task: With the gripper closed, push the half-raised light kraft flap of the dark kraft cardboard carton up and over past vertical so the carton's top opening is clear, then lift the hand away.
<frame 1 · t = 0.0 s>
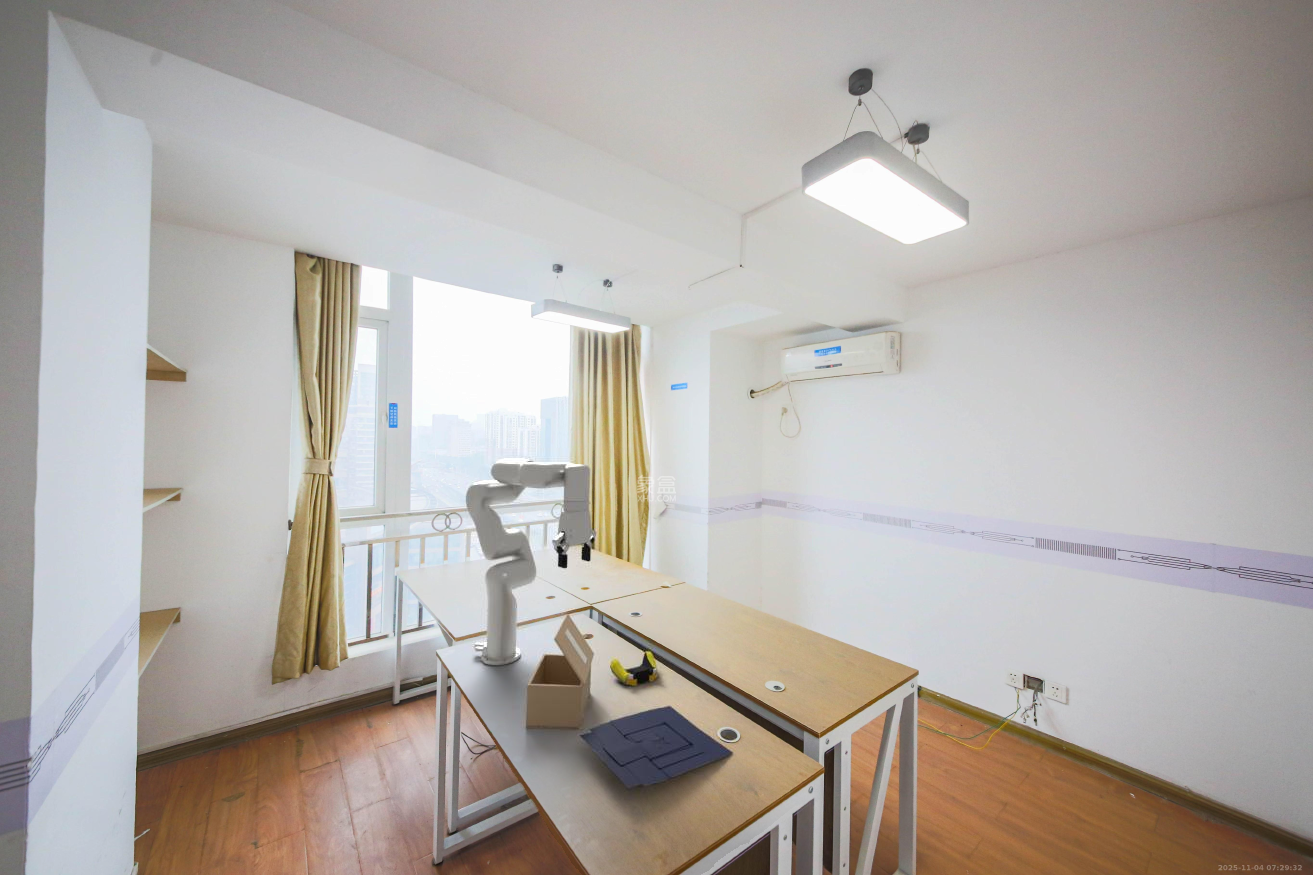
hand: (574, 563, 137), 37 cm above the table, fingers open, 9 cm apart
gaming controller: (636, 678, 146), on the table
flap: (575, 646, 127), point 17 cm above the table, hinge at 55.0°
carton: (560, 709, 127), on the table
folded navy cloth: (654, 752, 112), on the table
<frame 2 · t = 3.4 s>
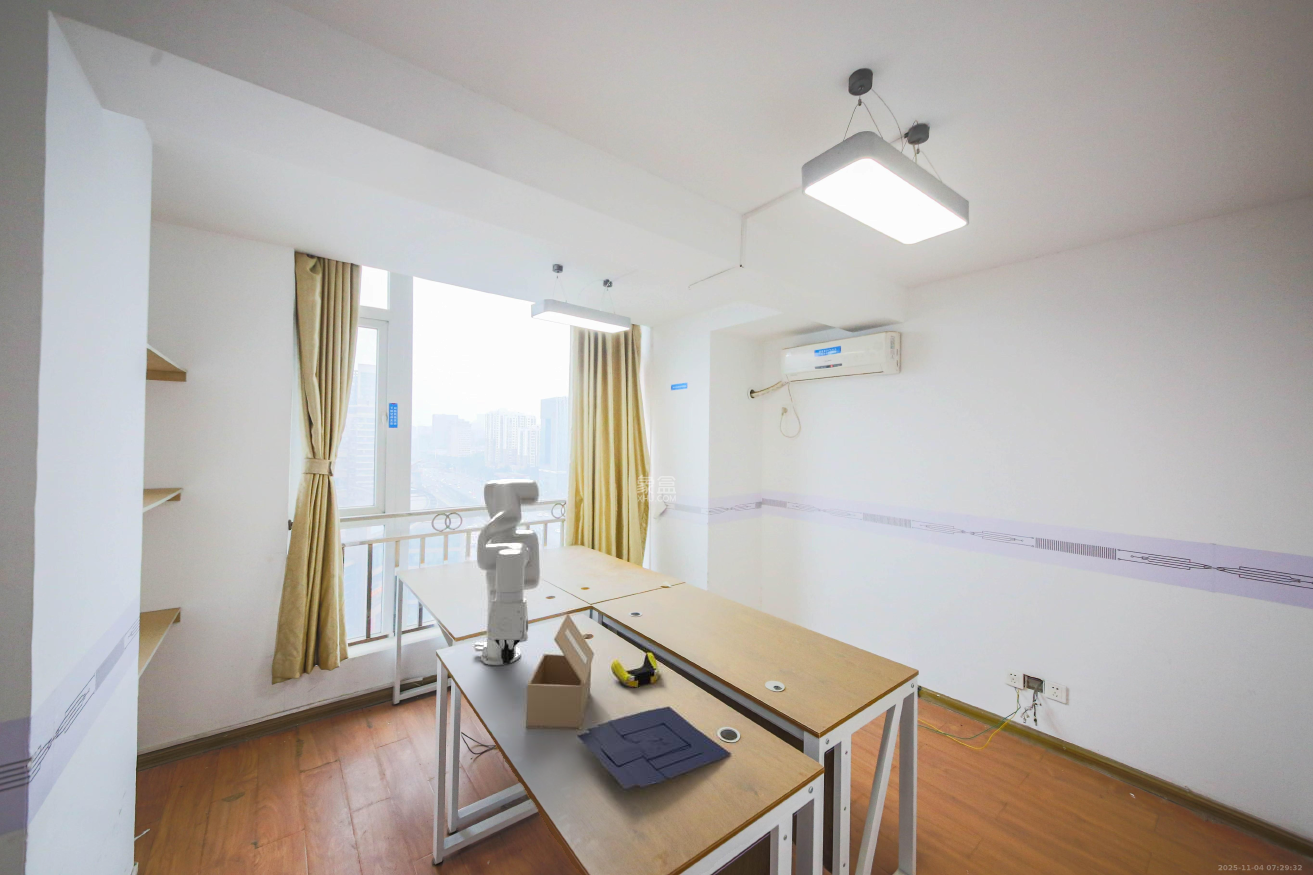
hand: (507, 661, 127), 13 cm above the table, fingers closed
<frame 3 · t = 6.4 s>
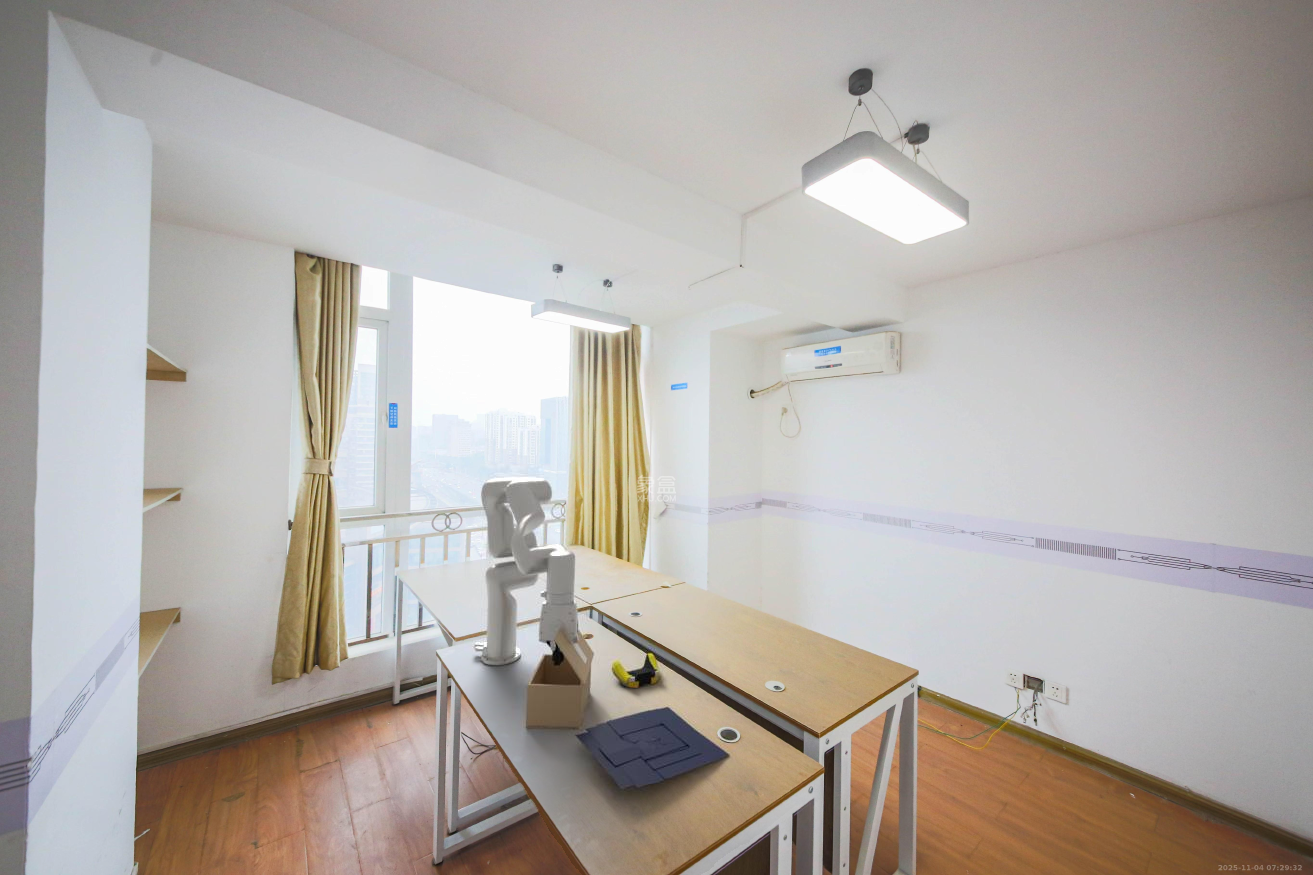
hand: (558, 663, 127), 13 cm above the table, fingers closed
flap: (575, 646, 127), point 17 cm above the table, hinge at 55.2°, touching gripper
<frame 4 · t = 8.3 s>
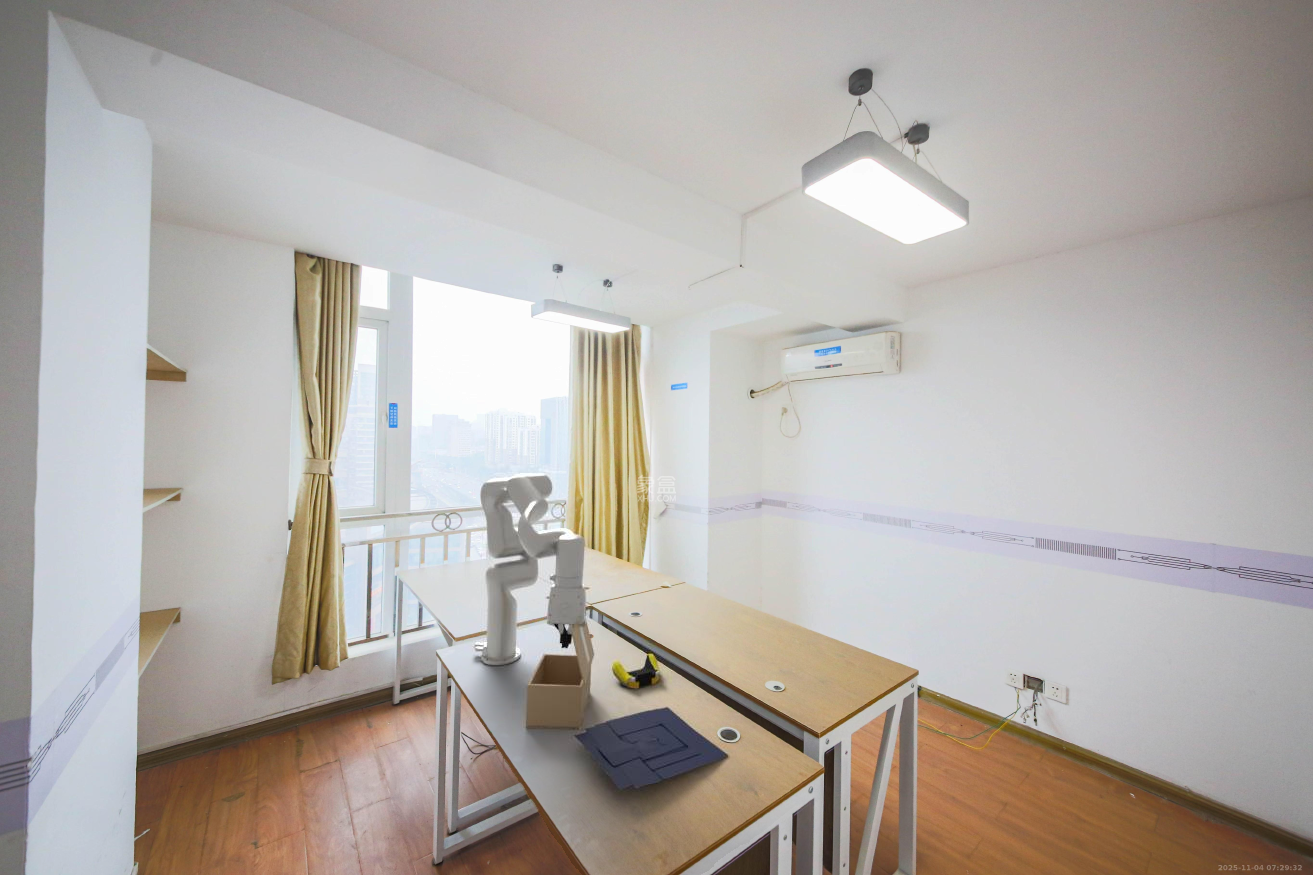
hand: (565, 645, 128), 17 cm above the table, fingers closed
flap: (583, 643, 127), point 18 cm above the table, hinge at 75.0°, touching gripper
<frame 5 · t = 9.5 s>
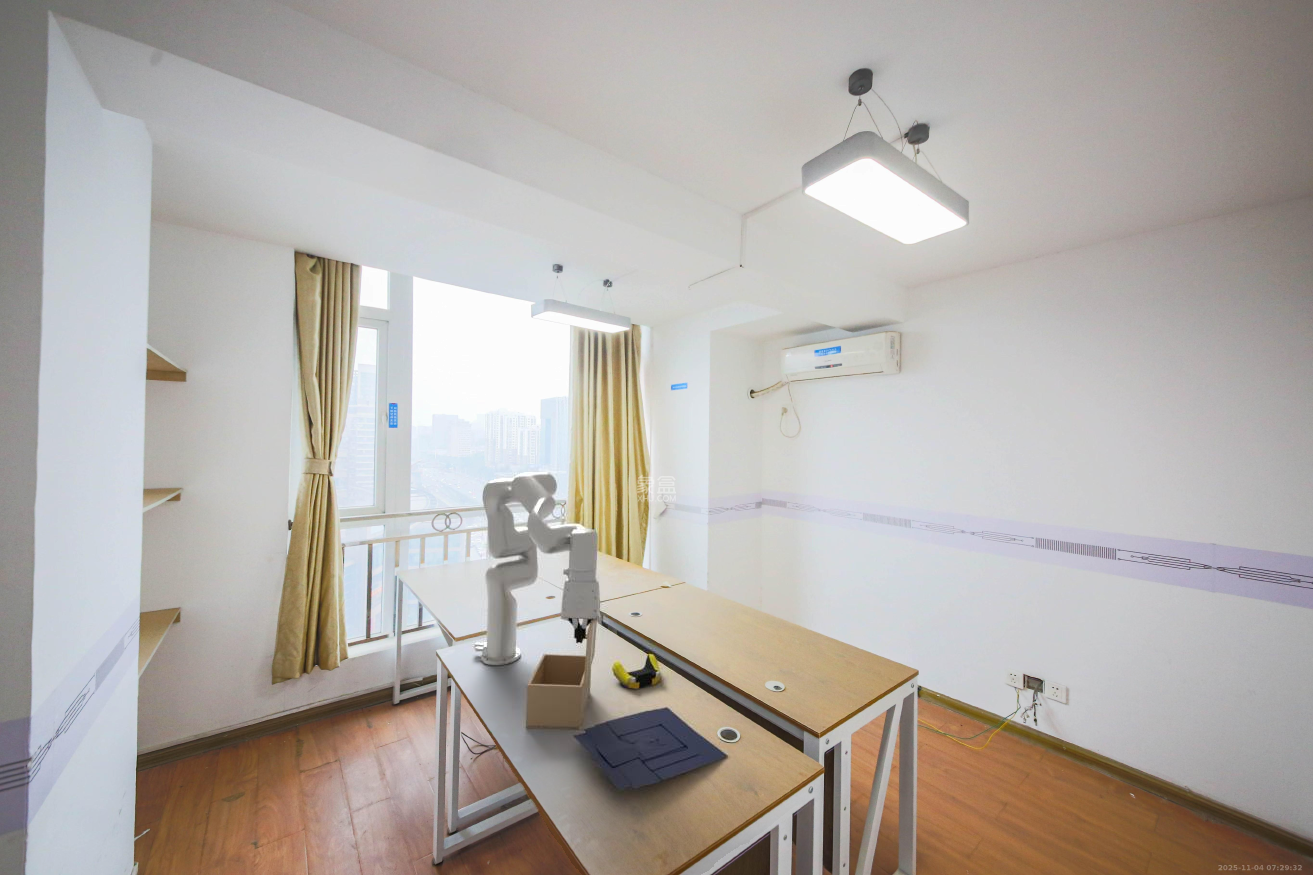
hand: (579, 640, 127), 19 cm above the table, fingers closed
flap: (591, 643, 127), point 18 cm above the table, hinge at 92.4°, touching gripper
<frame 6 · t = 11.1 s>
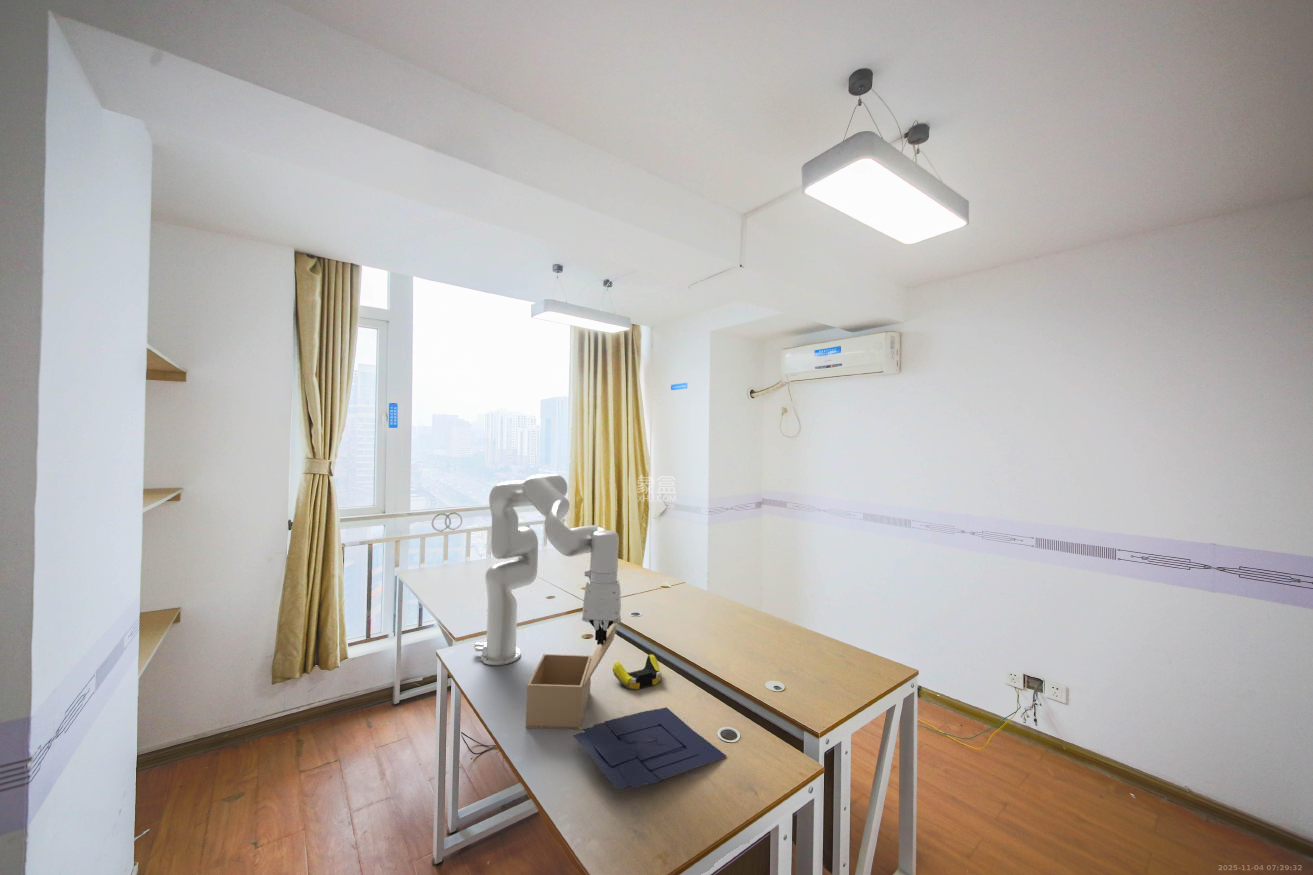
hand: (600, 642, 127), 19 cm above the table, fingers closed
flap: (602, 647, 127), point 17 cm above the table, hinge at 119.5°, touching gripper
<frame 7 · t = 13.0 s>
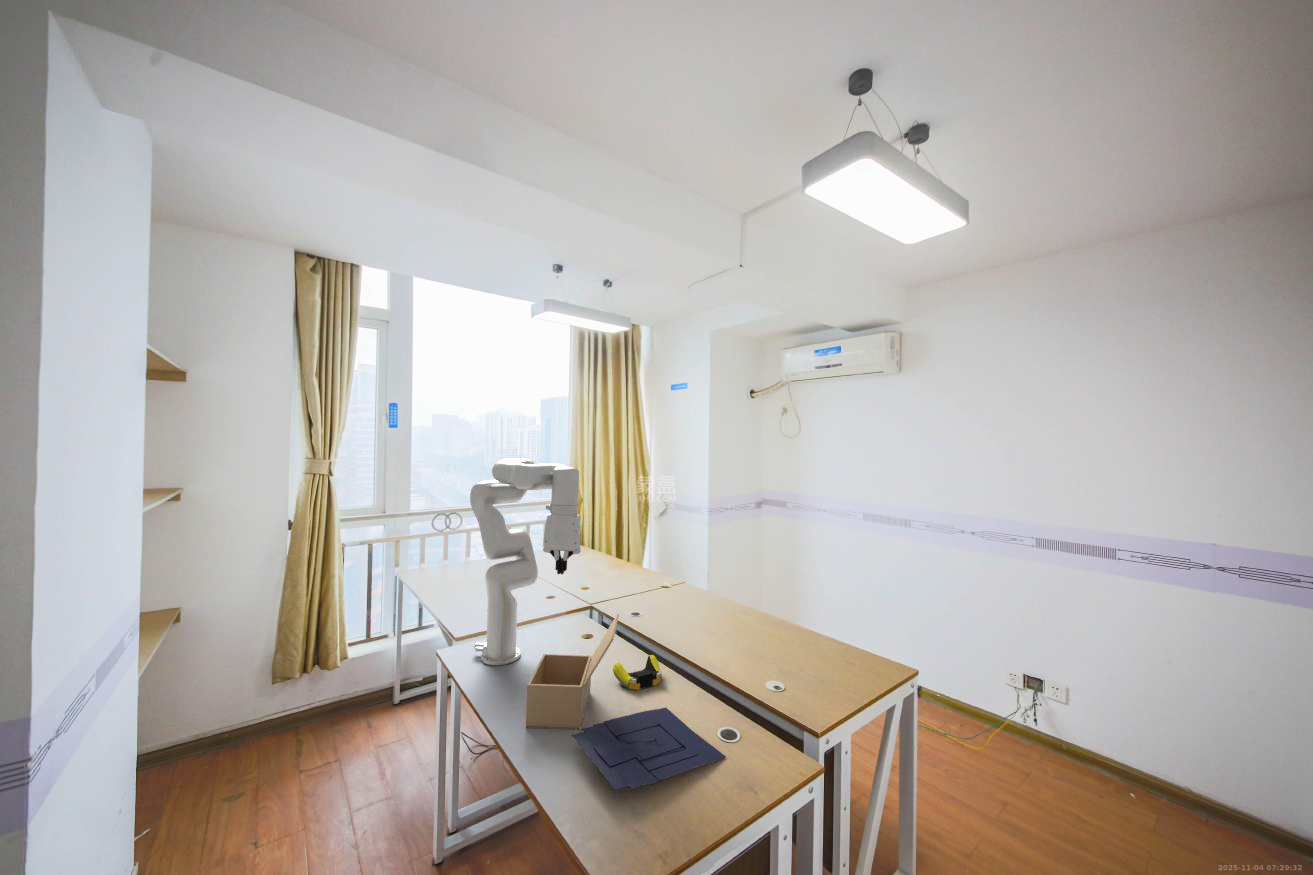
hand: (560, 572, 134), 36 cm above the table, fingers closed
flap: (602, 647, 127), point 17 cm above the table, hinge at 119.6°
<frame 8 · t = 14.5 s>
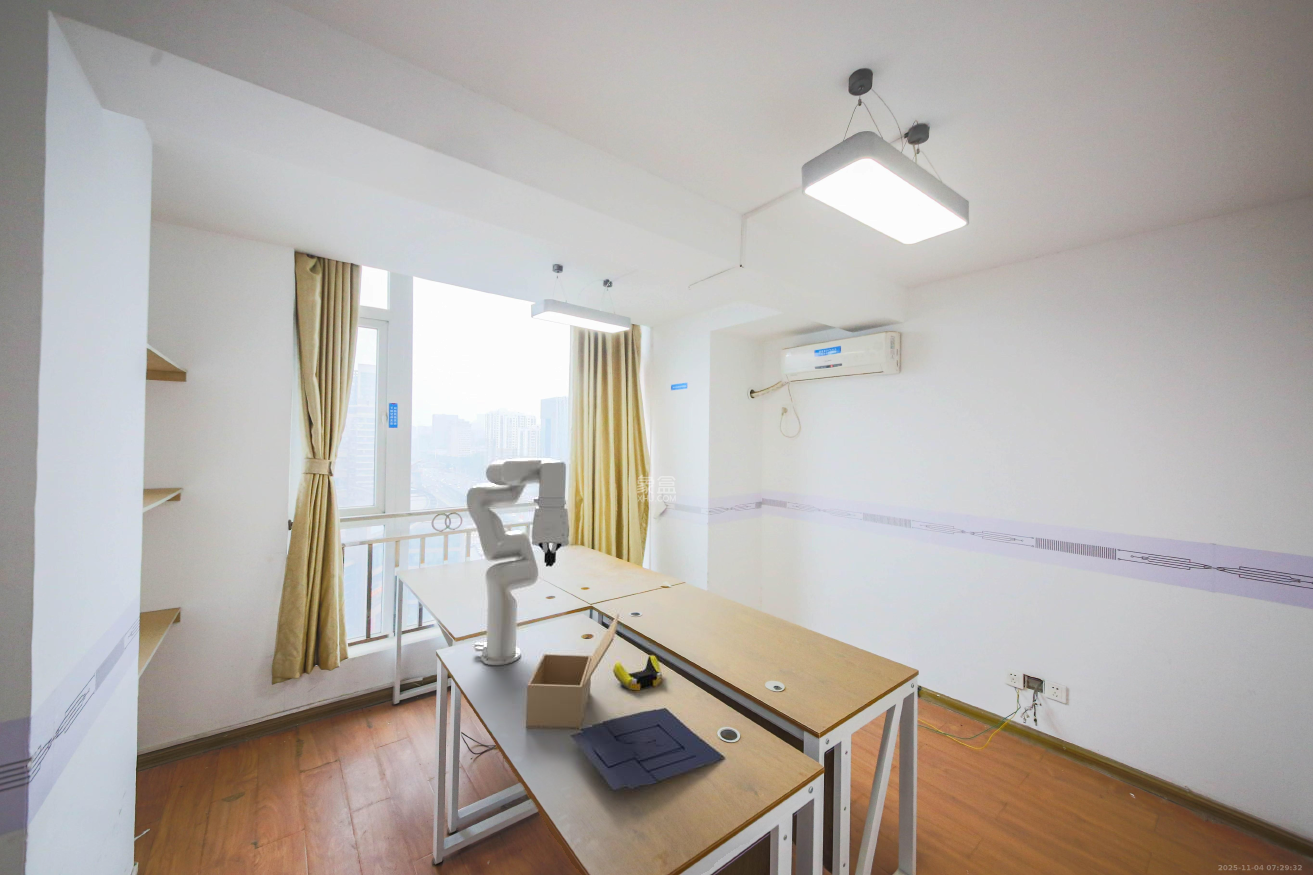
hand: (549, 565, 136), 37 cm above the table, fingers closed
at the end: flap at +120° (first picture: +55°) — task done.
